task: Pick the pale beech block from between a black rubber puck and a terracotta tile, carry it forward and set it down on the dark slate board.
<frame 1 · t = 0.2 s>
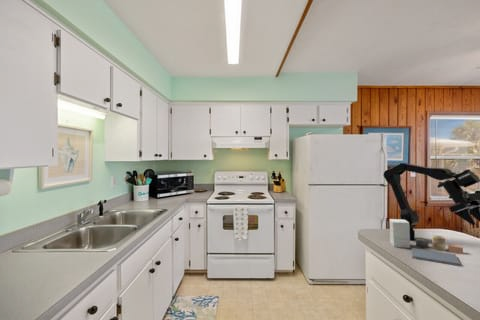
hand: (478, 223, 111), 15 cm above the worktop, tool tilted 30°, fingers open, 9 cm apart
beech block: (438, 249, 121), on the worktop
rubber puck: (422, 246, 125), on the worktop
terracotta tile: (455, 252, 116), on the worktop
slate board: (433, 257, 111), on the worktop
supplement box: (399, 245, 127), on the worktop
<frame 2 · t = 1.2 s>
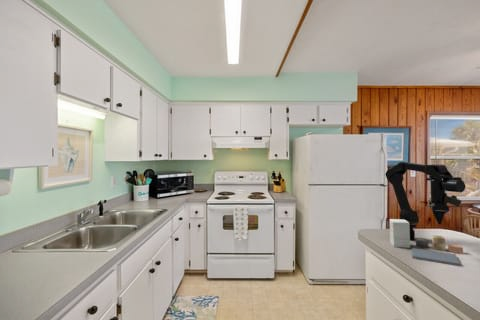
hand: (438, 222, 121), 13 cm above the worktop, tool pointing down, fingers open, 9 cm apart
nothing on the worktop moved.
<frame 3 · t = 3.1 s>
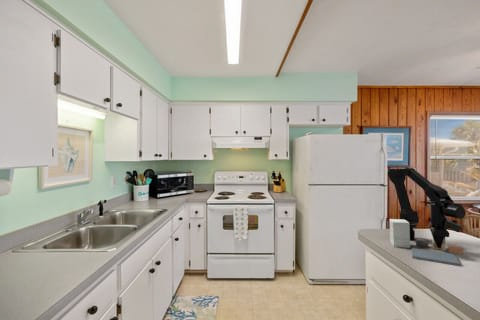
hand: (438, 246, 121), 1 cm above the worktop, tool pointing down, fingers closed on beech block, 4 cm apart
beech block: (438, 249, 121), on the worktop, touching gripper
everything else where it was.
when the fingers open (3 cm above the worktop, at t = 7.8 s): beech block drops 1 cm, resting on slate board.
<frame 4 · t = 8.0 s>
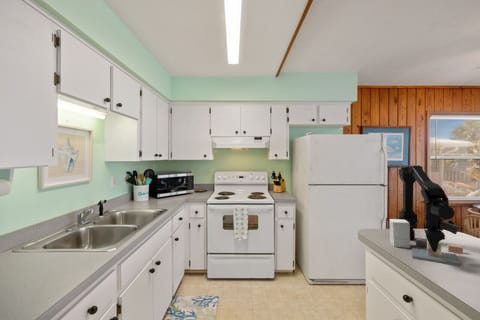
hand: (433, 249, 111), 3 cm above the worktop, tool pointing down, fingers open, 6 cm apart
beech block: (434, 255, 111), point 1 cm above the worktop, touching slate board
everything else where it was.
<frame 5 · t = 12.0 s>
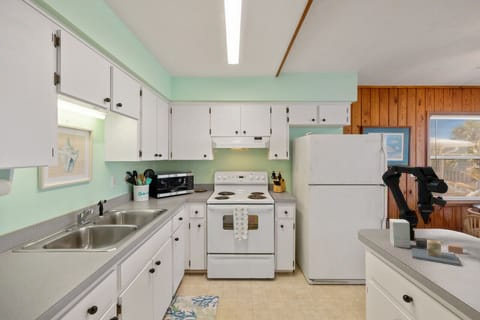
hand: (425, 222, 125), 12 cm above the worktop, tool pointing down, fingers open, 9 cm apart
nothing on the worktop moved.
at the end: beech block inside the target area on the slate board (0.1 cm from its centre), point 1.0 cm above the slate board's base; beech block tilted 0°; the gripper is holding nothing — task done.
